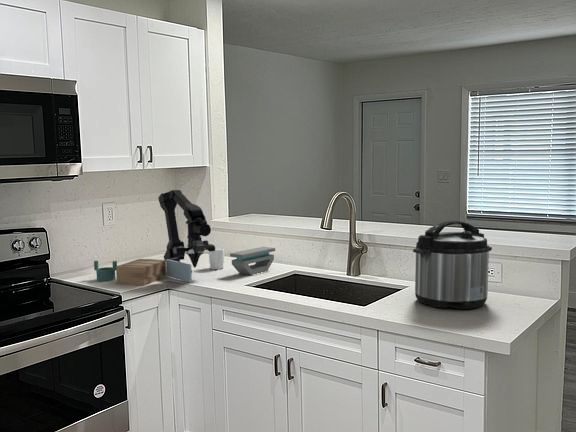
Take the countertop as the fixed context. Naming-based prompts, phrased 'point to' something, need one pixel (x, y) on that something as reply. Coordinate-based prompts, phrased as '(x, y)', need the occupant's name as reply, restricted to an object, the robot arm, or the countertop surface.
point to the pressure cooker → (452, 267)
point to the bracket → (105, 272)
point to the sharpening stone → (253, 260)
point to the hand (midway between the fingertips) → (194, 267)
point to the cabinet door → (178, 270)
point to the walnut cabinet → (141, 272)
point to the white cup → (216, 258)
